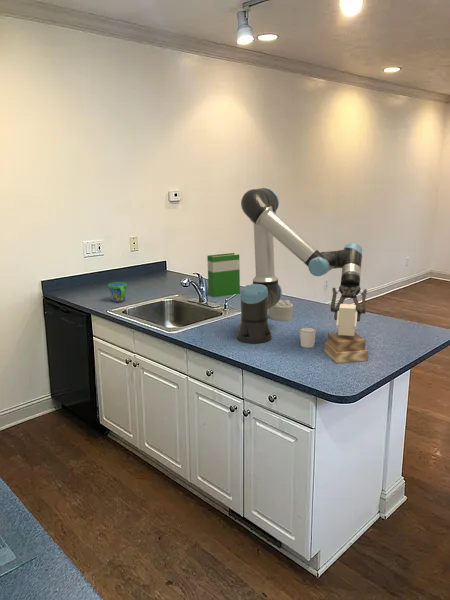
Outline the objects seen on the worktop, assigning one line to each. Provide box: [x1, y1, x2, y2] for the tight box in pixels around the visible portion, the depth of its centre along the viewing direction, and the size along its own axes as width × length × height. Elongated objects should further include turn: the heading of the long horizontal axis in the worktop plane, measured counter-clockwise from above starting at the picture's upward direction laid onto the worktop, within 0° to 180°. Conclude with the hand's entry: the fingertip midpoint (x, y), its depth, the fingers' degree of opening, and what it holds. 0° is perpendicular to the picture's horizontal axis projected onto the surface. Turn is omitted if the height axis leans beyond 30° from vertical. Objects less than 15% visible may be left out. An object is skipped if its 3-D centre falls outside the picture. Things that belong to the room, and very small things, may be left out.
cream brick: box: [337, 303, 357, 336], centre depth 195 cm, size 6×6×11 cm
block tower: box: [323, 332, 369, 364], centre depth 197 cm, size 13×13×8 cm
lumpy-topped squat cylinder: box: [268, 299, 294, 322], centre depth 250 cm, size 10×13×9 cm
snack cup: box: [107, 281, 128, 303], centre depth 290 cm, size 16×10×10 cm
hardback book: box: [206, 252, 241, 298], centre depth 299 cm, size 18×7×24 cm, turn 117°
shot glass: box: [299, 327, 317, 348], centre depth 210 cm, size 7×7×7 cm
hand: (346, 327), depth 192 cm, fingers closed on cream brick, 6 cm apart
